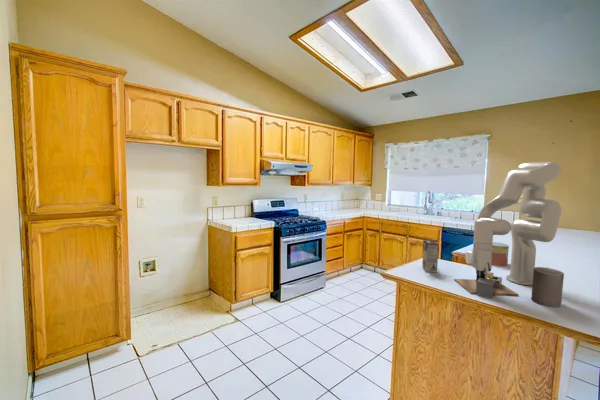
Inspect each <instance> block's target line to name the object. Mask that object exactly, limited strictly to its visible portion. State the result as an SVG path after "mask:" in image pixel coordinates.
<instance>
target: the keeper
mask: <svg viewBox="0 0 600 400" xmlns="http://www.w3.org/2000/svg"><path fill="white" fill-rule="evenodd" d="M494 283H495V280H491V279H486V278H481V277H479V279H478V280H477V284H476V294H475V295H477V296H482V297H486V298H490V299H492V298H493V296H494V295H493V285H494Z"/></svg>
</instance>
